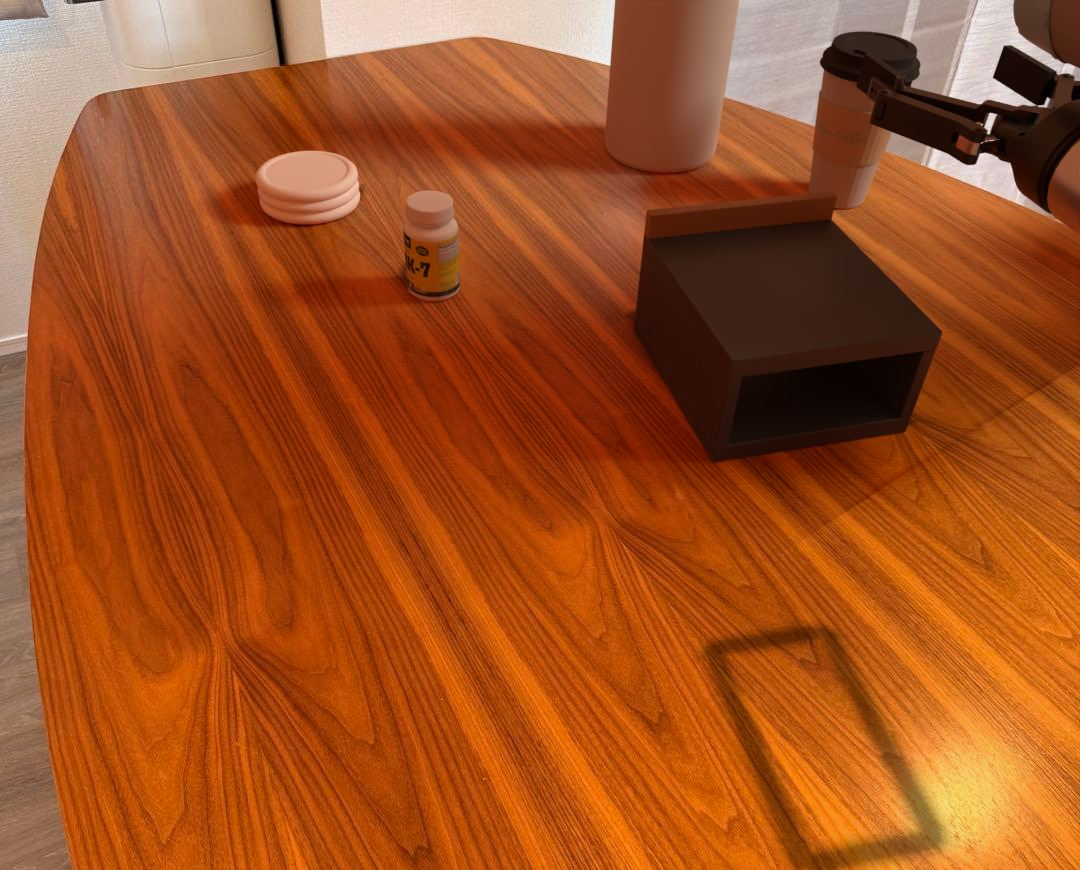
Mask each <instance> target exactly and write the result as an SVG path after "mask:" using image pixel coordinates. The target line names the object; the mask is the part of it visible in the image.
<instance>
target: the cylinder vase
mask: <svg viewBox="0 0 1080 870" xmlns="http://www.w3.org/2000/svg"><path fill="white" fill-rule="evenodd" d="M739 6H740V0H614V10H613V21H612V22H613V23H612V34H611V37H612V38H611V50H610V62H609V63H610V64H609V76H608V77H609V78H608V88H607V89H608V91H607V104H606V116H605V117H606V118H605V128H604V130H605V131H604V147H605V149H606V151H607V152H608V154H609V155H610V156H611V157H612V158H613V159H614V160H615V161H618V162H619V163H621V164H622V165H625V166H627V167H630V168H633V169H637V170H640V171H645V172H651V173H659V174H660V173H663V174H665V173H666V174H671V173H672V174H673V173H684V172H688V171H692V170H695V169H698V168H700V167H703V166H704V165H706V164H707V163H710V161H711V160H712V159H713V157H714V156H715V154H716V152H717V146H718V139H719V133H720V127H721V120H722V113H723V106H724V101H725V95H726V90H727V89H726V88H727V83H728V76H729V69H730V63H731V57H732V50H733V44H734V36H735V33H736V32H735V30H736V24H737V18H738V12H739Z"/></svg>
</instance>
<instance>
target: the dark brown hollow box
mask: <svg viewBox="0 0 1080 870" xmlns="http://www.w3.org/2000/svg"><path fill="white" fill-rule="evenodd" d="M836 199H837V196H836V195H835V194H834V193H833V192H832V191H828V192H819V193H809V192H808V193H800V194H799V193H798V194H791V195H781V196H780V195H779V196H770V197H760V198H752V199H751V198H750V199H742V200H732V201H731V200H730V201H721V202H713V203H712V202H711V203H702V204H701V203H700V204H693V205H684V206H683V205H682V206H673V207H664V208H662V207H661V208H653V209H647V210H646V214H645V222H644V231H643V239H642V240H643V241H642V251H641V260H640V269H639V276H638V277H639V279H638V287H637V295H636V296H637V297H636V305H635V313H634V314H635V316H634V322H633V323H634V325H633V332H634V334H635V335H636V337H637V339H638V340H639V342H640V343H641V345H642V347H643V349H644V351H645V352H646V354H647V356H648V357H649V359H650V360H651V363H652V364H653V365H654V368H655V369H656V371H657V372H658V374H659V375H660V377H661V379H662V381H663V382H664V384H665V386H666V388H667V390H668V392H670V394H671V396H672V398H673V399H674V400H675V403H676V404H677V406H678V407H679V409H680V411H681V413H682V414H683V416H684V418H685V419H686V421H687V423H688V424H689V426H690V427H691V430H692V431H693V433H694V434H695V437H696V438H697V439H698V442H699V443H700V444H701V446H702V448H703V450H704V451H705V453H706V455H707V456H708V458H709V460H710V461H711V463H720V462H725V461H732V460H738V459H745V458H750V457H751V458H753V457H757V456H763V455H769V454H776V453H782V452H788V451H795V450H800V449H806V448H808V449H809V448H814V447H820V446H826V445H831V444H839V443H846V442H850V441H851V442H852V441H857V440H865V439H870V438H876V437H877V438H878V437H883V436H889V435H895V434H900V433H906V432H907V429H908V426H909V424H910V421H911V418H912V416H913V413H914V411H915V408H916V405H917V402H918V399H919V396H920V394H921V392H922V389H923V386H924V383H925V380H926V378H927V375H928V373H929V370H930V367H931V365H932V361H933V359H934V356H935V353H936V352H937V351H936V350H937V348H938V346H939V344H940V342H941V338H942V336H943V333H944V332H943V330H942V329H941V328H940V327H939V326H938V325H936V324H935V322H934V321H933V320H932V319H931V318H930V317H929V316H928V315H927V314H926V313H925V312H924V311H923V310H922V308H920V307H919V306H918V305H917V304H916V303H915V302H914V301H913V300H912V299H911V298H910V297H909V295H907V294H906V293H905V292H904V291H903V290H902V289H901V288H900V287H899V286H898V285H897V284H896V283H895V282H894V281H893V280H892V279H891V278H890V277H889V276H888V274H886V273H885V272H884V271H883V269H881V268H880V267H879V266H878V265H877V264H876V263H875V261H873V259H872V258H870V257H869V255H868V254H866V253H865V252H864V250H862V249H861V248H860V246H858V245H857V244H856V242H854V241H853V240H852V238H850V237H849V236H848V234H846V233H845V232H844V230H843V229H841V228H840V227H839V225H837V223H836V222H835V221H833V220H832V219H833V216H834V211H835V208H834V207H835V203H836Z"/></svg>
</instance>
